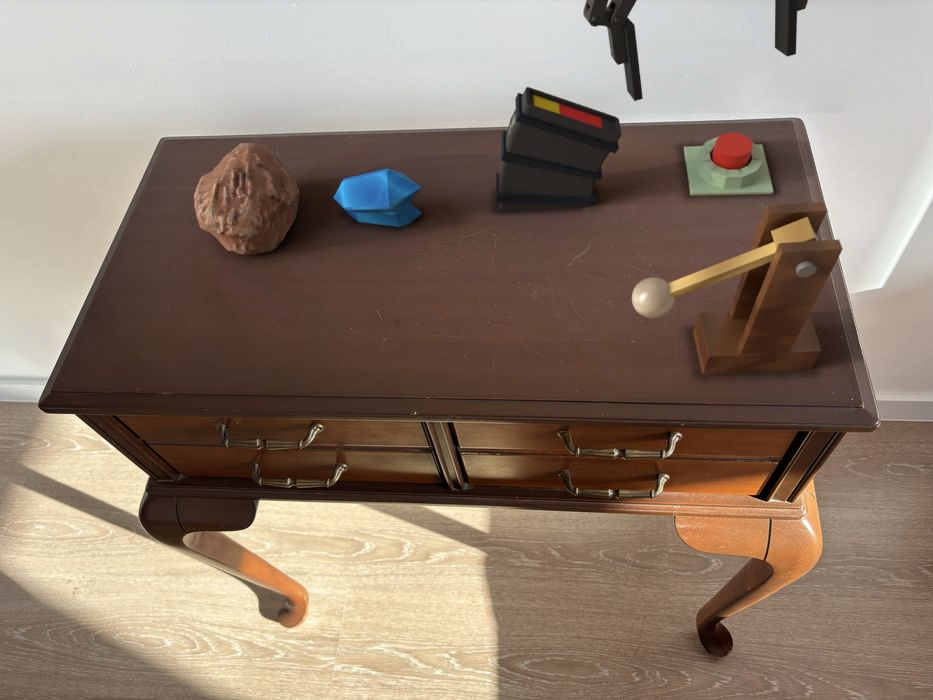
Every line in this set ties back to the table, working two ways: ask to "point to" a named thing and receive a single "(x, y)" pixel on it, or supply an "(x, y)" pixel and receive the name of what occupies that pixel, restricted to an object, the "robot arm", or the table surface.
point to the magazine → (553, 153)
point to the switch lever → (713, 272)
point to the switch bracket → (771, 303)
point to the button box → (726, 173)
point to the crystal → (379, 198)
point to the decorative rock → (247, 200)
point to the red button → (732, 151)
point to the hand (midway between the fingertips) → (709, 73)
